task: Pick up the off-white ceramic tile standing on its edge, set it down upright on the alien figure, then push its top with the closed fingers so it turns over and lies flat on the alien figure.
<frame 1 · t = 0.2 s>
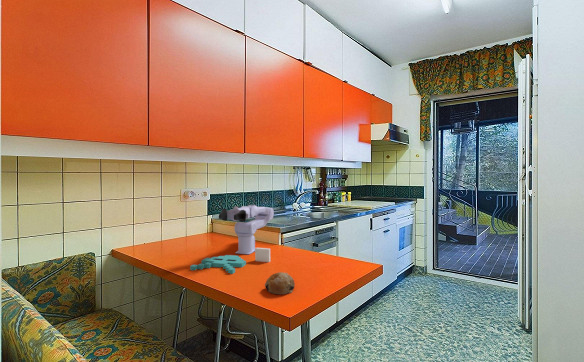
hand: (227, 217, 146), 21 cm above the table, tool horizontal, fingers open, 7 cm apart
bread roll: (279, 290, 114), on the table
tile: (262, 261, 149), on the table
alien figure: (222, 266, 144), on the table
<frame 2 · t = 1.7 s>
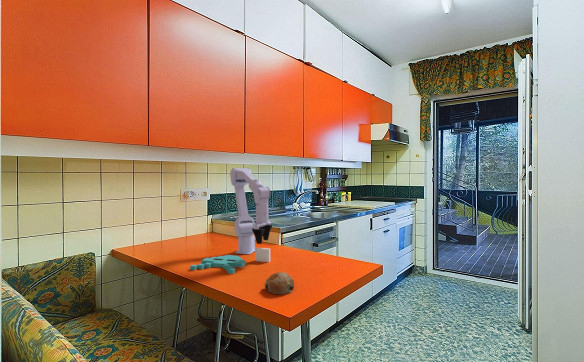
hand: (262, 241, 149), 9 cm above the table, tool pointing down, fingers open, 7 cm apart
nothing on the table moved.
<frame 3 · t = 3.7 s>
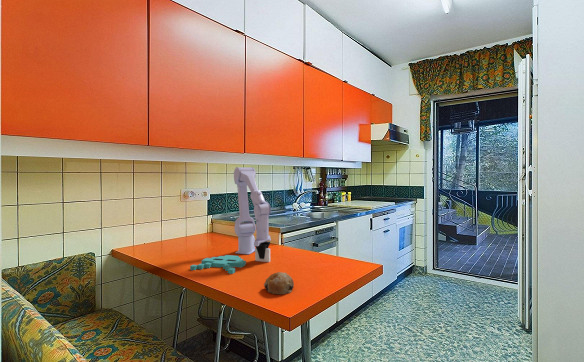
hand: (262, 258, 149), 1 cm above the table, tool pointing down, fingers closed on tile, 2 cm apart
tile: (262, 261, 149), on the table, touching gripper
everything else where it was.
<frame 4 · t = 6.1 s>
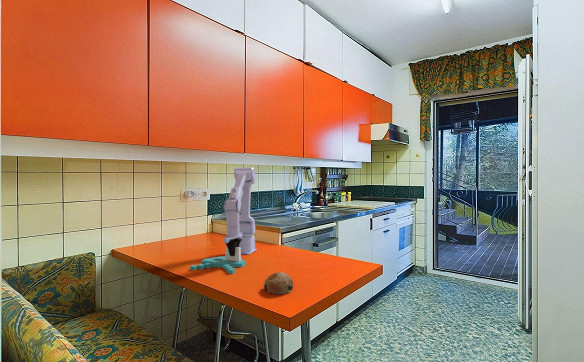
hand: (233, 255, 145), 4 cm above the table, tool pointing down, fingers closed on tile, 2 cm apart
tile: (233, 260, 145), point 2 cm above the table, touching gripper, alien figure
alien figure: (222, 266, 144), on the table, touching tile
everything else where it was.
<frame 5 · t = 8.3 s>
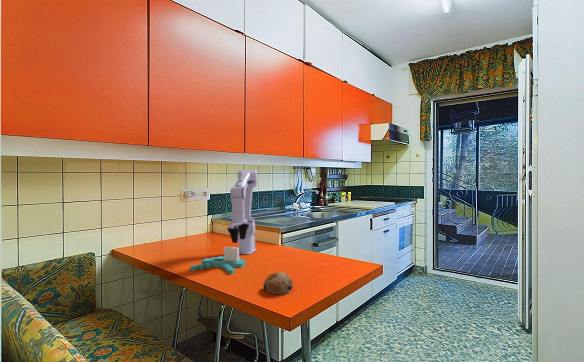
hand: (238, 240, 150), 9 cm above the table, tool pointing down, fingers open, 7 cm apart
tile: (231, 260, 145), point 2 cm above the table, touching alien figure
everything else where it was.
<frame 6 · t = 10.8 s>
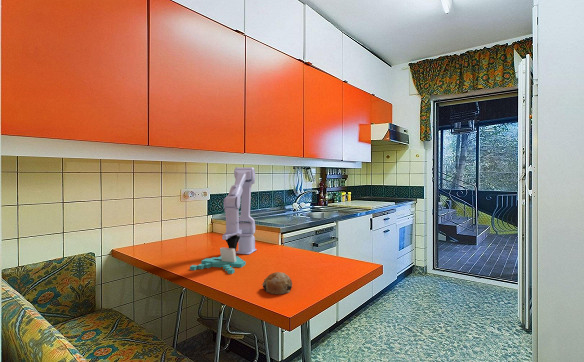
hand: (232, 252, 144), 5 cm above the table, tool pointing down, fingers closed
tile: (229, 260, 144), point 2 cm above the table, tilted 12°, touching alien figure
everything else where it was.
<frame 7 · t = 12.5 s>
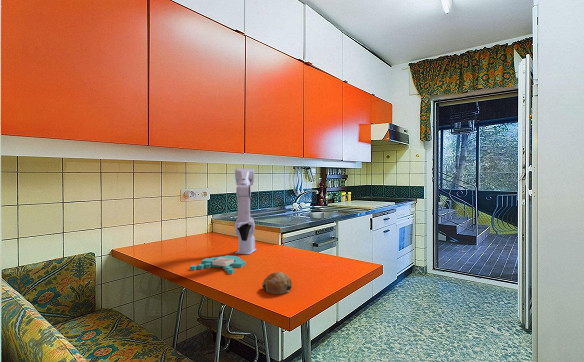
hand: (244, 240, 147), 10 cm above the table, tool pointing down, fingers closed
tile: (227, 260, 143), point 2 cm above the table, tilted 90°, touching alien figure
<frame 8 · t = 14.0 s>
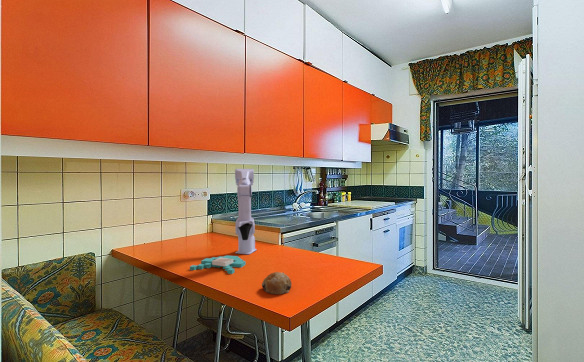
hand: (245, 239, 147), 10 cm above the table, tool pointing down, fingers closed
at the end: tile tilted 90°; tile inside the target area (1.6 cm from its centre), point 2.3 cm above the table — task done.
